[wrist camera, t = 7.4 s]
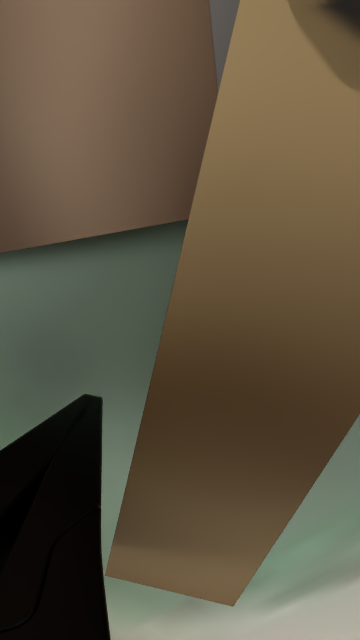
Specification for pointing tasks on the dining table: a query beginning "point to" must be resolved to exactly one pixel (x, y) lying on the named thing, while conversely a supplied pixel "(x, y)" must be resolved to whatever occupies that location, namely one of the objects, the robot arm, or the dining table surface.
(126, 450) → the dining table surface
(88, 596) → the robot arm
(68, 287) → the dining table surface
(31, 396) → the dining table surface
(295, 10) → the folding leg
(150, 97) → the stool seat
